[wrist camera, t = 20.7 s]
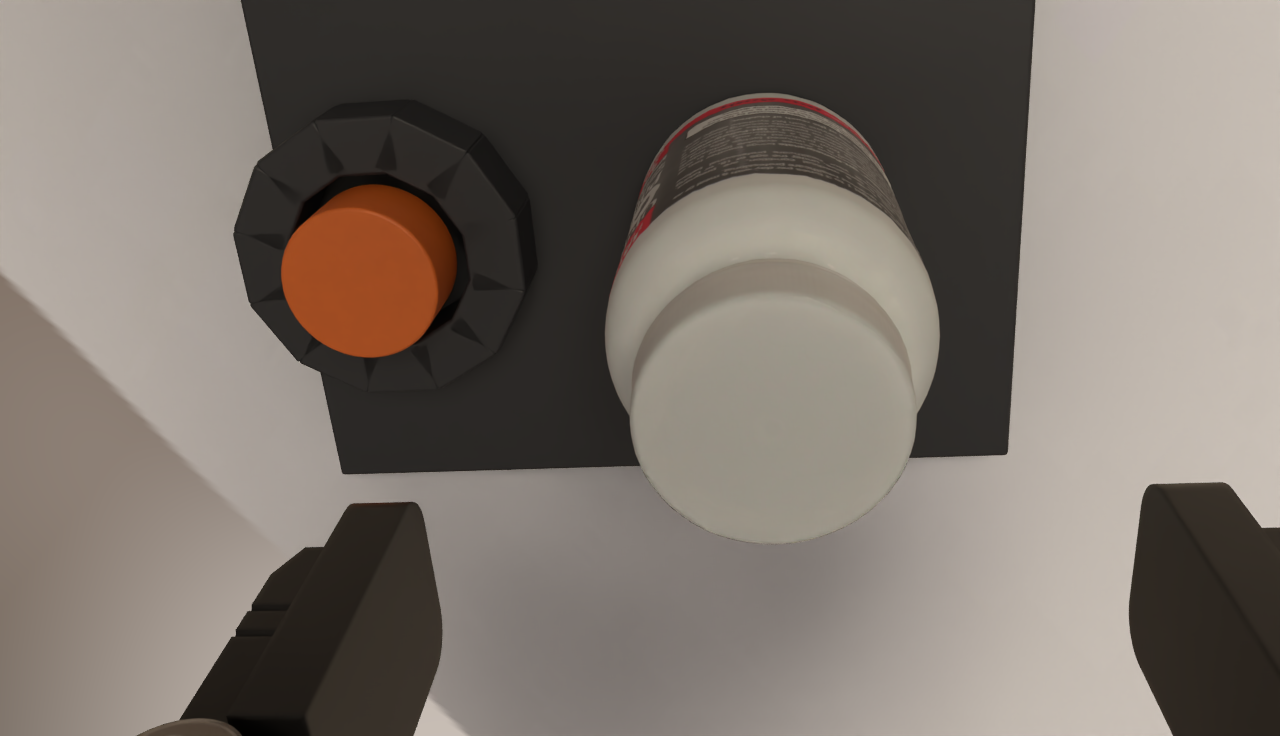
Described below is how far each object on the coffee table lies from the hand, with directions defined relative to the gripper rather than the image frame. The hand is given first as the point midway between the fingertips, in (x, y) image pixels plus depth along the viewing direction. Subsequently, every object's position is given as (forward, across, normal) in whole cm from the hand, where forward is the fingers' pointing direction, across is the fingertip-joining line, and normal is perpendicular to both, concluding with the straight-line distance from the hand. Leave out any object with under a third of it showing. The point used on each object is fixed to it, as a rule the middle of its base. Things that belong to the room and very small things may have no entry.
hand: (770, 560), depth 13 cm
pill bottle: (+13, 0, 0) cm, 13 cm away
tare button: (+12, +8, 0) cm, 14 cm away
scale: (+14, +2, 0) cm, 15 cm away
